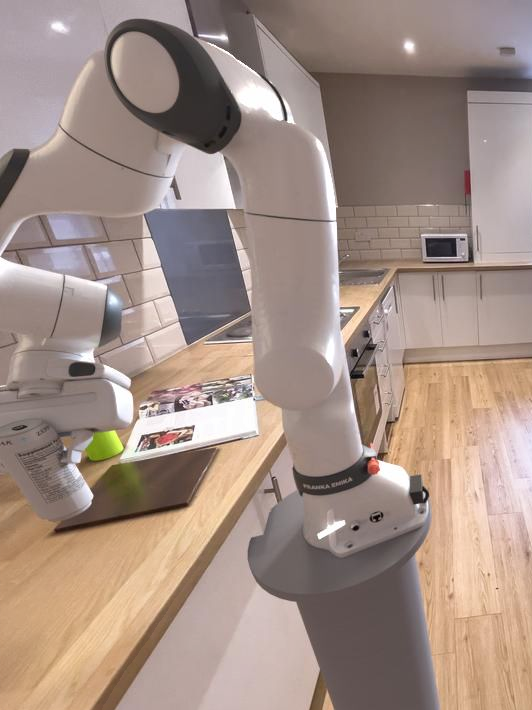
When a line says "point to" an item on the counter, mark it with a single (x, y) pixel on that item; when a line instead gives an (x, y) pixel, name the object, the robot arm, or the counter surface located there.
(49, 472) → the energy drink can
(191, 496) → the coaster board
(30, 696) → the counter surface
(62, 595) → the counter surface
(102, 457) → the soap dispenser
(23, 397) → the robot arm
